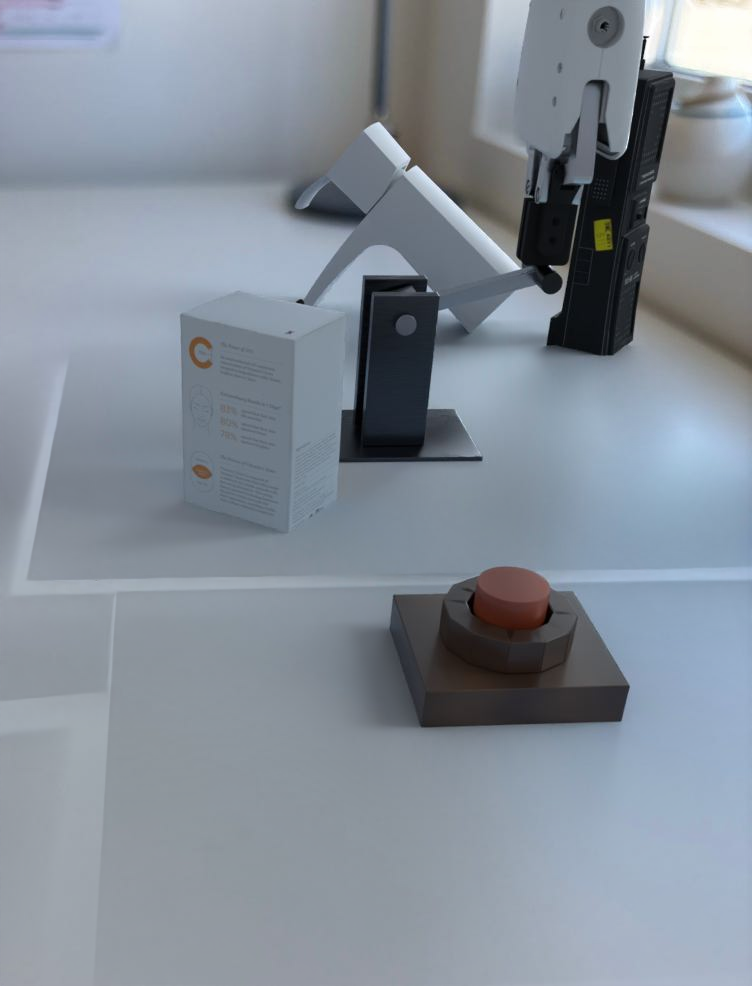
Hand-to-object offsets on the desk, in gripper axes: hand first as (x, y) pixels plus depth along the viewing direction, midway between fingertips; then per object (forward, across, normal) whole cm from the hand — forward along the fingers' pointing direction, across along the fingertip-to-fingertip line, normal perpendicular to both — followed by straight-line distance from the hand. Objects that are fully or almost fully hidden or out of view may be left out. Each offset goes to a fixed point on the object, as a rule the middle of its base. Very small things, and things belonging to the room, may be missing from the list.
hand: (541, 261), depth 76 cm
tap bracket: (+13, 0, +10) cm, 16 cm away
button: (+10, -29, +9) cm, 32 cm away
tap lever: (+3, 0, +5) cm, 6 cm away
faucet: (+14, +31, +2) cm, 34 cm away
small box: (+14, -10, +20) cm, 26 cm away
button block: (+13, -29, +8) cm, 33 cm away
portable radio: (+14, +21, -12) cm, 28 cm away
